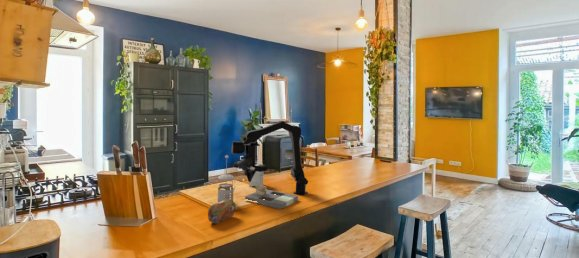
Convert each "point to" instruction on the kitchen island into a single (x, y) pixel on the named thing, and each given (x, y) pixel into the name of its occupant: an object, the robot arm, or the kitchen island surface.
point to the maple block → (261, 190)
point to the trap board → (273, 199)
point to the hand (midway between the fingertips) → (249, 181)
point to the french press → (225, 186)
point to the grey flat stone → (221, 211)
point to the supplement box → (257, 179)
